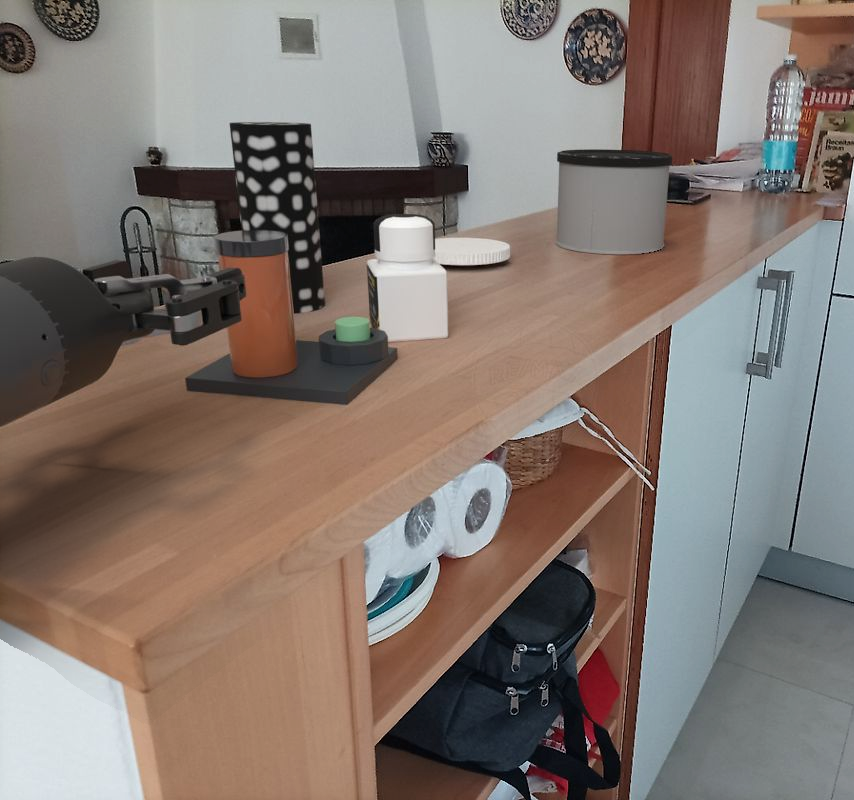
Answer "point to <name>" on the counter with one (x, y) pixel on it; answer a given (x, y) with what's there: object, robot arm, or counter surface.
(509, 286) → the counter surface
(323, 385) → the scale
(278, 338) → the spice jar
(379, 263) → the medicine bottle
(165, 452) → the counter surface
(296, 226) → the spotted tube
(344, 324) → the button
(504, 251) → the plastic lid
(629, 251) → the container
